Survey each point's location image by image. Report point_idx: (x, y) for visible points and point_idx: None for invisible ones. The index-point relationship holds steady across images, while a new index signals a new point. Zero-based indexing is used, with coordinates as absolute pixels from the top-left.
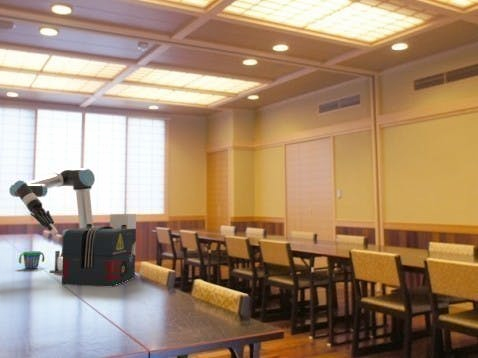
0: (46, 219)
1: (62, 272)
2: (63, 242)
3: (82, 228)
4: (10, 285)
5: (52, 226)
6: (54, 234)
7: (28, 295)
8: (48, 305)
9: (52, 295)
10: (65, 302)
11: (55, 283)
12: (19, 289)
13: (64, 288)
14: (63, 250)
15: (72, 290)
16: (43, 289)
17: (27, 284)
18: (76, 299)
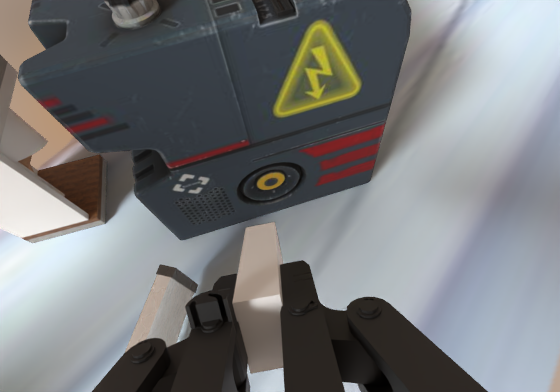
0: (289, 389)
1: (376, 155)
2: (405, 49)
3: (216, 1)
4: (538, 318)
5: (270, 263)
6: (281, 255)
7: (550, 113)
8: (552, 11)
9: (492, 75)
10: (506, 11)
11: (372, 214)
12: (538, 210)
13: (408, 125)
14: (395, 85)
15: (410, 90)
16: (468, 154)
17: (466, 279)
18: (469, 18)
